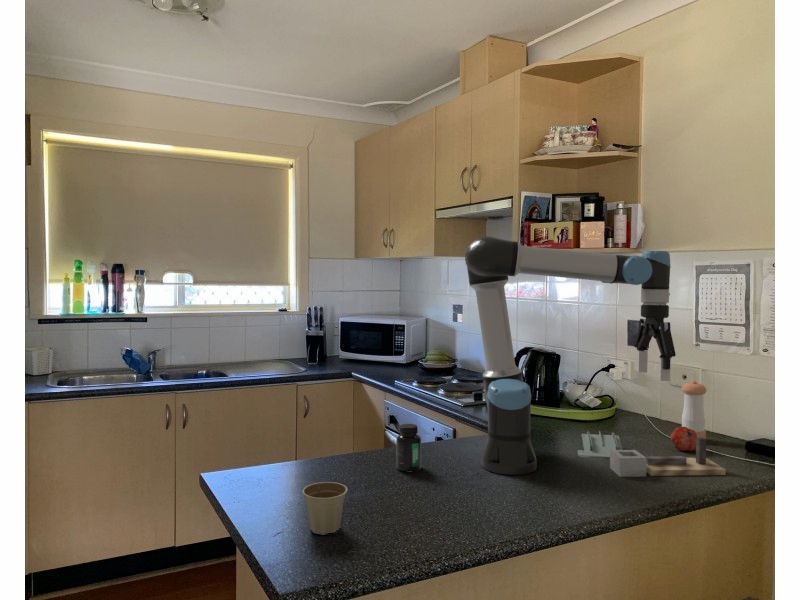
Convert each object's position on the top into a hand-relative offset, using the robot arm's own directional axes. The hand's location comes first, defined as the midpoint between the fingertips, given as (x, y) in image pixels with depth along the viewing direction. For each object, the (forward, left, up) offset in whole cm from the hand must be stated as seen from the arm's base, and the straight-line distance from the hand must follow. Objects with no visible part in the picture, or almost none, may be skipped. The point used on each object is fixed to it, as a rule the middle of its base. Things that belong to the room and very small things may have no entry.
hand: (652, 376), depth 172 cm
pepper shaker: (+20, +15, -24) cm, 34 cm away
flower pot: (-91, -47, -24) cm, 105 cm away
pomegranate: (+12, +5, -24) cm, 27 cm away
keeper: (+2, -12, -23) cm, 26 cm away
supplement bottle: (-72, -9, -24) cm, 76 cm away
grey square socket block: (-13, -14, -23) cm, 30 cm away
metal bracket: (-13, +4, -24) cm, 28 cm away
